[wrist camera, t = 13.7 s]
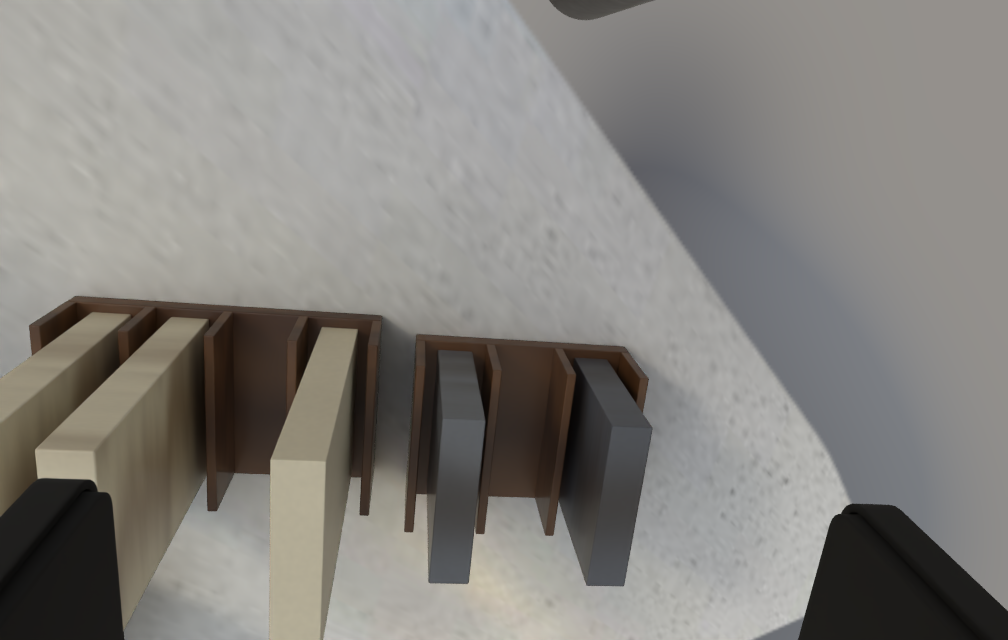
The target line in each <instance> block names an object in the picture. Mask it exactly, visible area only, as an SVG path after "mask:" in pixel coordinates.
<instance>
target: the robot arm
mask: <svg viewBox="0 0 1008 640" xmlns="http://www.w3.org/2000/svg"><path fill="white" fill-rule="evenodd" d="M0 640H124V632H123V620H122V609H121V597H120V585H119V573H118V562H117V550H116V538H115V526H114V515H113V504H112V498H111V496H110V494H109V493H107V492H98V489H97V486H96V484H95V482H93V481H92V480H90V479H59V478H40V479H37V480H36V481H35V482H33V483H32V484H31V485H30V486H29V487H28V488H27V489H26V490H25V491H24V492H23V494H22V495H21V496H20V497H19V498H18V499H17V500H16V501H15V502H14V503H13V504H12V505H11V506H10V507H9V508H8V509H7V510H6V511H5V512H4V513H3V514H2V516H1V517H0ZM798 640H1008V611H1007V610H1006V609H1005V608H1004V607H1003V606H1002V605H1001V604H1000V603H999V602H997V600H995V599H994V598H993V597H992V596H991V595H990V594H989V593H988V592H987V591H986V590H985V589H984V588H983V587H982V586H981V585H980V584H978V583H977V582H976V581H975V580H974V579H973V578H972V577H971V576H970V575H969V574H968V573H967V572H966V571H965V570H964V569H963V568H961V566H959V565H958V564H957V563H956V562H955V561H954V560H953V559H952V558H951V557H950V556H949V555H948V554H947V553H946V552H945V551H944V550H943V549H941V548H940V547H939V546H938V545H937V544H936V543H935V542H934V541H933V540H932V539H931V538H930V537H929V536H928V535H927V534H925V533H924V532H923V531H922V530H921V529H920V528H919V527H918V526H917V525H916V524H915V523H914V522H913V521H912V520H911V519H910V518H909V517H908V516H906V515H905V514H904V513H903V512H902V511H901V510H900V509H898V508H897V507H895V506H892V505H877V504H875V505H874V504H850V505H848V506H846V507H845V509H844V510H843V511H842V513H841V514H838V515H835V516H834V518H833V519H832V521H831V523H830V526H829V530H828V533H827V537H826V540H825V544H824V548H823V551H822V555H821V559H820V562H819V566H818V569H817V573H816V577H815V580H814V584H813V588H812V591H811V595H810V598H809V602H808V606H807V609H806V613H805V617H804V620H803V624H802V628H801V631H800V635H799V638H798Z"/></svg>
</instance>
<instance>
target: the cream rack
mask: <svg viewBox="0 0 1008 640" xmlns="http://www.w3.org/2000/svg"><path fill="white" fill-rule="evenodd" d="M322 327H330V328H346V329H358V345H357V368H356V390H355V413H354V435H353V458H352V473H351V477H361V495H360V515H367V516H368V515H369V508H370V500H371V491H372V482H373V473H374V459H375V441H376V423H377V405H378V386H379V368H380V350H381V332H382V316H378V315H363V314H347V313H331V312H316V311H300V310H284V309H268V308H253V307H237V306H221V305H206V304H190V303H174V302H158V301H143V300H127V299H111V298H96V297H80V296H75V297H73V298H72V299H70V300H68V301H67V302H65V303H63V304H62V305H60V306H59V307H57V308H56V309H54V310H52V311H51V312H49V313H48V314H46V315H45V316H43V317H41V318H40V319H38V320H37V321H35V322H34V323H32V324H31V325H29V330H30V340H31V350H32V356H31V357H30V358H28V359H27V360H26V361H24V362H23V363H21V364H20V365H19V366H17V367H16V368H14V369H13V370H12V371H10V372H9V373H8V374H6V375H5V376H3V377H2V378H1V379H0V517H1V516H2V514H3V513H4V512H5V511H6V510H7V509H8V508H9V507H10V506H11V505H12V504H13V503H14V502H15V501H16V500H17V499H18V498H19V497H20V496H21V495H22V494H23V492H24V491H25V490H26V489H27V488H28V487H29V486H30V485H31V484H32V483H33V482H35V481H36V480H37V479H40V478H59V479H90V480H92V481H93V482H95V484H96V486H97V489H98V492H107V493H109V494H110V496H111V498H112V504H113V515H114V526H115V538H116V550H117V562H118V573H119V585H120V597H121V609H122V620H123V631H124V629H125V627H126V625H127V623H128V621H129V620H130V618H131V616H132V614H133V612H134V610H135V608H136V606H137V605H138V603H139V601H140V599H141V597H142V595H143V593H144V591H145V590H146V588H147V586H148V584H149V582H150V580H151V578H152V576H153V575H154V573H155V571H156V569H157V567H158V565H159V563H160V561H161V560H162V558H163V556H164V554H165V552H166V550H167V548H168V546H169V545H170V543H171V541H172V539H173V537H174V535H175V533H176V531H177V529H178V528H179V526H180V524H181V522H182V520H183V518H184V516H185V514H186V513H187V511H188V509H189V507H190V505H191V503H192V501H193V499H194V498H195V496H196V494H197V492H198V490H199V488H200V486H201V484H202V483H203V481H204V479H205V477H206V475H207V507H208V511H217V510H218V508H219V506H220V503H221V501H222V499H223V497H224V495H225V493H226V490H227V488H228V486H229V484H230V482H231V480H232V478H233V475H234V473H247V474H270V460H271V457H272V455H273V452H274V450H275V447H276V444H277V442H278V439H279V437H280V434H281V431H282V429H283V426H284V424H285V421H286V419H287V416H288V413H289V411H290V408H291V406H292V403H293V400H294V398H295V395H296V393H297V390H298V388H299V385H300V382H301V380H302V377H303V375H304V372H305V369H306V367H307V364H308V362H309V359H310V357H311V354H312V351H313V349H314V346H315V344H316V341H317V338H318V336H319V333H320V331H321V328H322Z"/></svg>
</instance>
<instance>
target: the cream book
mask: <svg viewBox="0 0 1008 640" xmlns="http://www.w3.org/2000/svg"><path fill="white" fill-rule="evenodd" d="M357 345H358V329H346V328H330V327H322V328H321V331H320V333H319V336H318V338H317V341H316V344H315V346H314V349H313V351H312V354H311V357H310V359H309V362H308V364H307V367H306V369H305V372H304V375H303V377H302V380H301V382H300V385H299V388H298V390H297V393H296V395H295V398H294V400H293V403H292V406H291V408H290V411H289V413H288V416H287V419H286V421H285V424H284V426H283V429H282V431H281V434H280V437H279V439H278V442H277V444H276V447H275V450H274V452H273V455H272V457H271V460H270V596H269V640H323V638H324V632H325V626H326V620H327V614H328V608H329V603H330V597H331V591H332V585H333V579H334V573H335V567H336V561H337V556H338V550H339V544H340V538H341V532H342V526H343V520H344V514H345V509H346V503H347V497H348V491H349V485H350V479H351V473H352V458H353V435H354V413H355V390H356V368H357Z"/></svg>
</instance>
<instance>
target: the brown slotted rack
mask: <svg viewBox="0 0 1008 640" xmlns="http://www.w3.org/2000/svg"><path fill="white" fill-rule="evenodd" d="M648 380H649V379H648V377H647V376H646V375H645V373H644V372H643V371H642V369H641V368H640V367H639V366H638V364H637V363H636V362H635V360H634V359H633V358H632V356H631V355H630V354H629V352H628V351H627V350H626V348H625V347H619V346H602V345H586V344H569V343H553V342H537V341H520V340H504V339H487V338H471V337H454V336H438V335H421V334H417V335H416V347H415V361H414V376H413V390H412V404H411V418H410V432H409V447H408V461H407V475H406V494H405V525H404V531H405V532H413V529H414V515H415V502H416V494H427V527H428V581H429V583H452V584H468V583H469V575H470V566H471V556H472V547H473V537H474V527H475V532H476V534H484V532H485V523H486V513H487V504H488V496H498V497H529V498H535V500H536V503H537V507H538V511H539V514H540V518H541V522H542V525H543V529H544V533H545V535H546V536H553V535H554V528H555V521H556V514H557V507H558V500H559V503H560V506H561V509H562V512H563V515H564V518H565V521H566V524H567V527H568V530H569V533H570V537H571V540H572V543H573V546H574V549H575V552H576V555H577V558H578V561H579V564H580V567H581V570H582V573H583V576H584V579H585V582H586V585H587V586H624V583H625V578H626V572H627V566H628V561H629V555H630V550H631V544H632V539H633V533H634V528H635V522H636V517H637V511H638V506H639V500H640V495H641V489H642V484H643V478H644V473H645V467H646V462H647V456H648V451H649V445H650V440H651V434H652V427H651V425H650V424H649V422H648V421H647V419H646V418H645V416H644V415H643V408H644V403H645V397H646V391H647V385H648Z"/></svg>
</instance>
